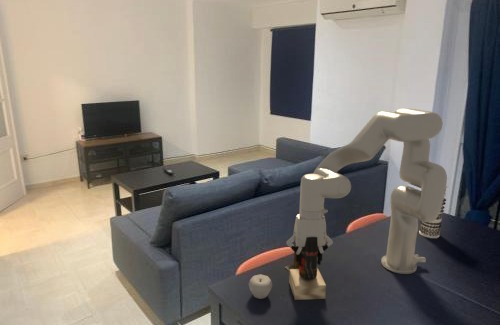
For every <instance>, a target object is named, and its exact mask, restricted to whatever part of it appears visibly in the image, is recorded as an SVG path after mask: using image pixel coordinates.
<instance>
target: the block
mask: <svg viewBox="0 0 500 325" xmlns="http://www.w3.org/2000/svg"><path fill="white" fill-rule="evenodd" d="M288 280H289V281H288V283H289V285H290V288H291V292H292V295H293V299H294V300H295V301H296V300H297V301H298V300H300V301H302V300H321V299H324V300H325V299H326V291H327V284H326V282H325V280H324V278H323V276H322V274H321V272H320V270H319V268H318V267H317V277H316V278H315V279H312V280H307V279H303V278H301V277H300V276H299V269H290V271H289V278H288Z"/></svg>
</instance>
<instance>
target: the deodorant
mask: <svg viewBox="0 0 500 325" xmlns="http://www.w3.org/2000/svg"><path fill="white" fill-rule="evenodd" d="M318 249H319V248H318V242H317V237H306V242H305V246H304V247H302V250H301V252H300V253H301V265H300V266H299V276H300V277H301V278H303V279H307V280H312V279H315V278H316V277H317V268H318V266H319V265H318Z"/></svg>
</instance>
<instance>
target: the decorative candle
mask: <svg viewBox="0 0 500 325" xmlns="http://www.w3.org/2000/svg"><path fill="white" fill-rule="evenodd" d="M447 188H448V185H446V188H445V193H444V198H443V203H442V207H441V211H440V213H439V215H438V217H437V218H436V219H435V220H434V221H432V222H424V221H421V220H419V221H420V224H419V227H418V232H419V235H421V236H422V237H424V238H429V239H438V238H439V237H440V234H441V227H442V219H443V218H442V214H444V212H445V210H444V209H445V205H446V201H447V198H445V197H446V194H447V193H446V190H447Z"/></svg>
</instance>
